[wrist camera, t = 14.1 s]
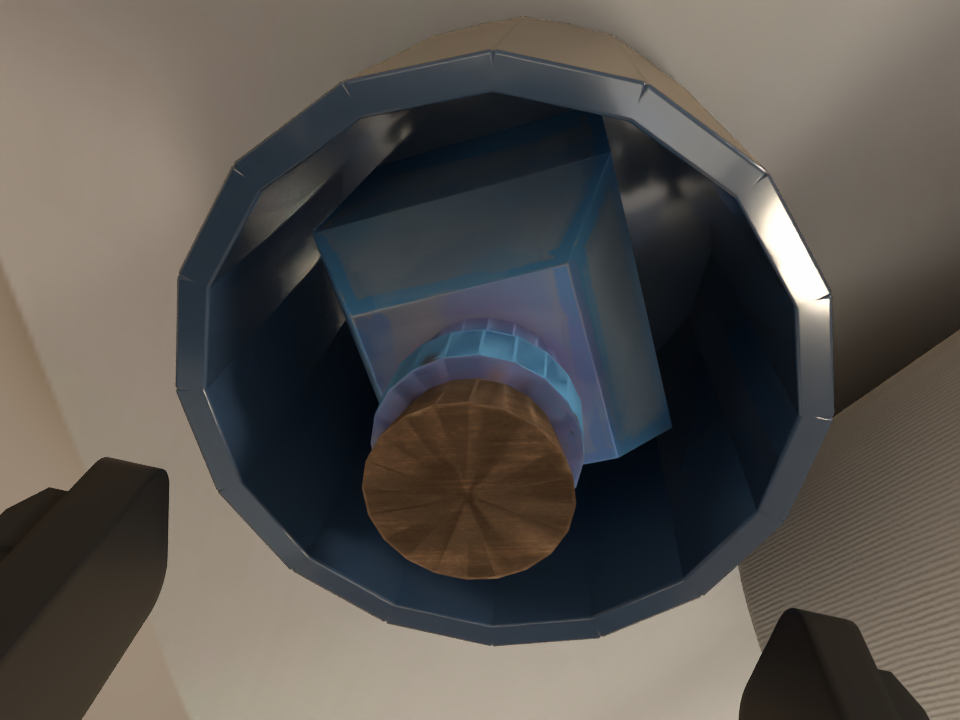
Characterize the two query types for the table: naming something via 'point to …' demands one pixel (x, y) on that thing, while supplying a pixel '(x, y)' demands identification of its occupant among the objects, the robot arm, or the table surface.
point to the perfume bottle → (494, 339)
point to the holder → (669, 305)
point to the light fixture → (881, 531)
